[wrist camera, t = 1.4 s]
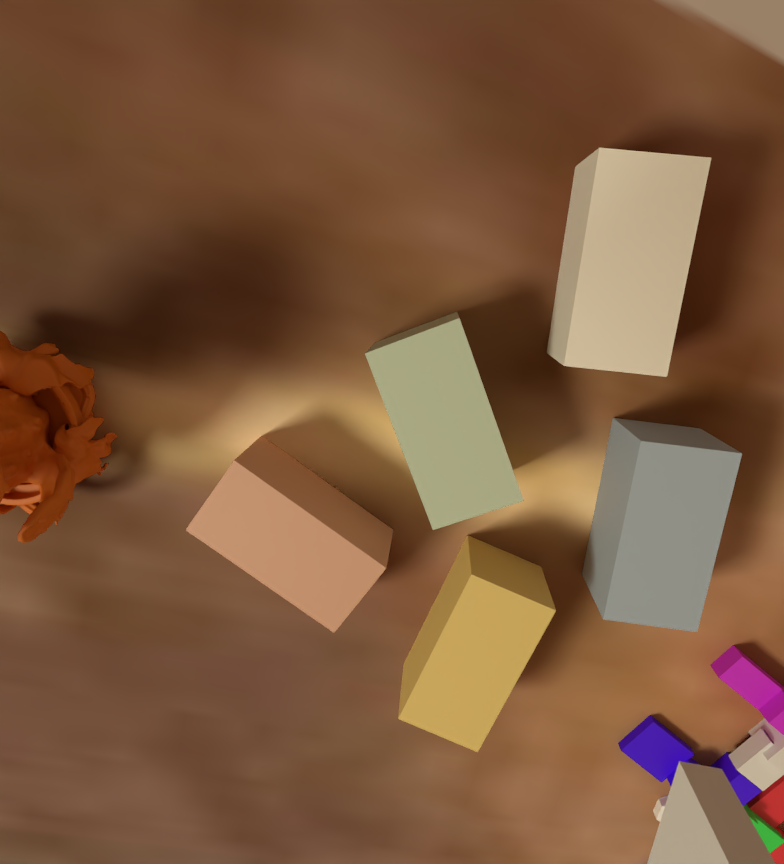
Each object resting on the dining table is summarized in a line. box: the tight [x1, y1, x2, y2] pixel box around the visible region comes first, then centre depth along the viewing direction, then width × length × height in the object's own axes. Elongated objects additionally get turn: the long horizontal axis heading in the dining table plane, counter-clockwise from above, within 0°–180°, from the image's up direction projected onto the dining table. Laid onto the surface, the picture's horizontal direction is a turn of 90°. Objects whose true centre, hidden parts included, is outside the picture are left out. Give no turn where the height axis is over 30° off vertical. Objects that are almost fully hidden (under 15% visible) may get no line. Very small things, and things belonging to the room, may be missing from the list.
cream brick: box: [547, 148, 711, 377], centre depth 30 cm, size 9×4×5 cm, turn 175°
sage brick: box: [365, 312, 524, 530], centre depth 32 cm, size 9×4×5 cm, turn 21°
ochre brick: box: [398, 535, 556, 752], centre depth 35 cm, size 9×4×5 cm, turn 157°
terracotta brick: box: [186, 436, 393, 632], centre depth 34 cm, size 9×4×5 cm, turn 54°
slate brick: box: [582, 418, 742, 632], centre depth 33 cm, size 9×4×5 cm, turn 174°
